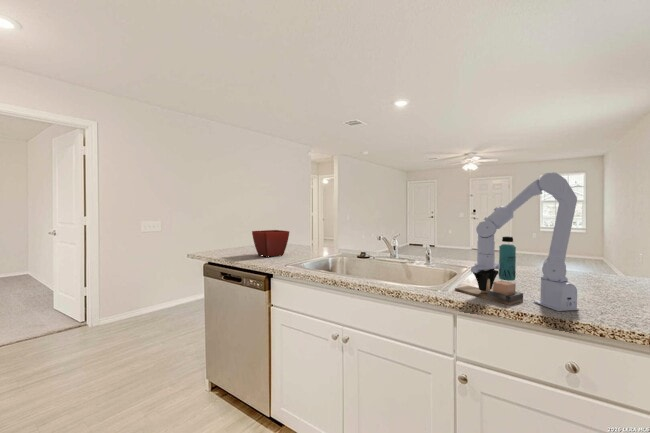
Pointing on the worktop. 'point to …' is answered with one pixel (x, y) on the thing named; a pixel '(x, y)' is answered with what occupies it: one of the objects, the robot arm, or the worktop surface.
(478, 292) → the lane shelf
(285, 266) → the worktop surface
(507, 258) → the beverage bottle
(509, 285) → the clay block
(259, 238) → the plant pot
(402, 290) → the worktop surface
